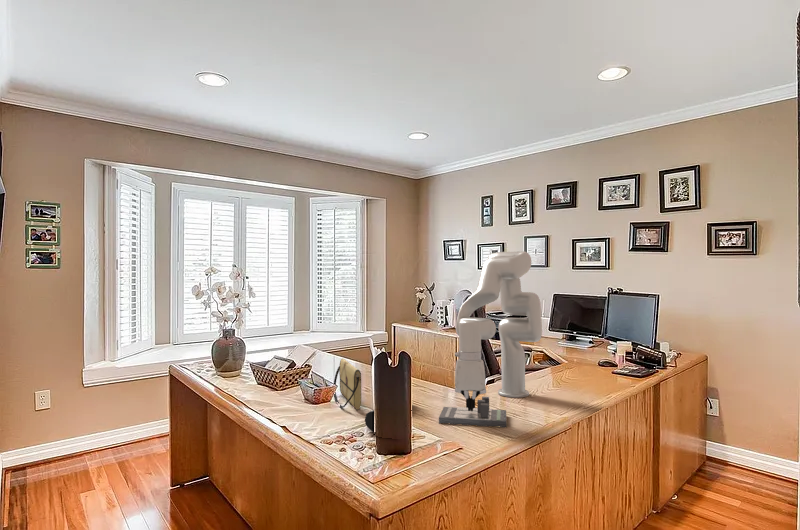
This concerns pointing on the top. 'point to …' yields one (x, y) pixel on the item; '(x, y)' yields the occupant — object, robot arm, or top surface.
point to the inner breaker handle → (486, 400)
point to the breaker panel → (472, 417)
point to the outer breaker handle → (484, 410)
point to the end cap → (370, 420)
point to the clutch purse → (349, 383)
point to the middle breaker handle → (479, 405)
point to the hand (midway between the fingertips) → (470, 409)
